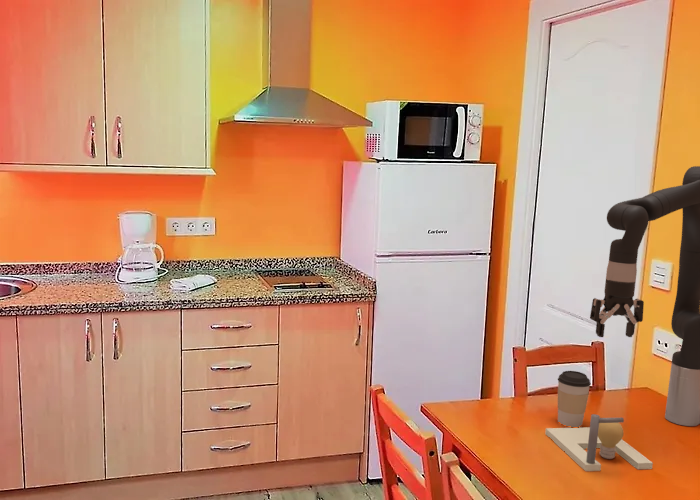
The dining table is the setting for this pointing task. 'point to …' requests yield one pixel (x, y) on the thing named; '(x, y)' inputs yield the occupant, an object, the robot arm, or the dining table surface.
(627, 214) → the robot arm
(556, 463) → the dining table surface
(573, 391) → the coffee cup
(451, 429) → the dining table surface
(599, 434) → the light bulb
